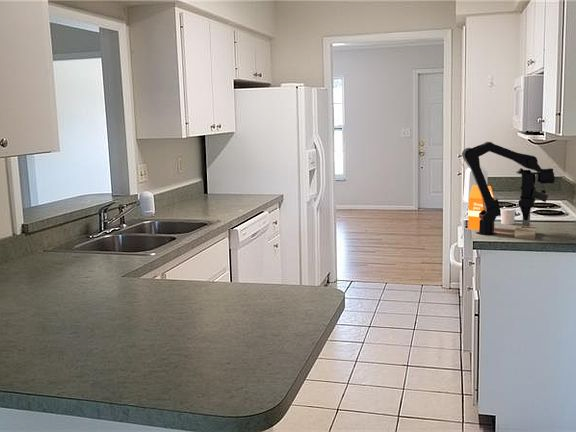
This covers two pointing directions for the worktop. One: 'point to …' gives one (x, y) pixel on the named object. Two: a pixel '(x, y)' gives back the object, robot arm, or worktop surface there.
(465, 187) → the milk
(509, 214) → the white cylinder
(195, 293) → the worktop surface
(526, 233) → the socket block
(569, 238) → the worktop surface
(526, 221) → the square bit
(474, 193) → the orange juice
